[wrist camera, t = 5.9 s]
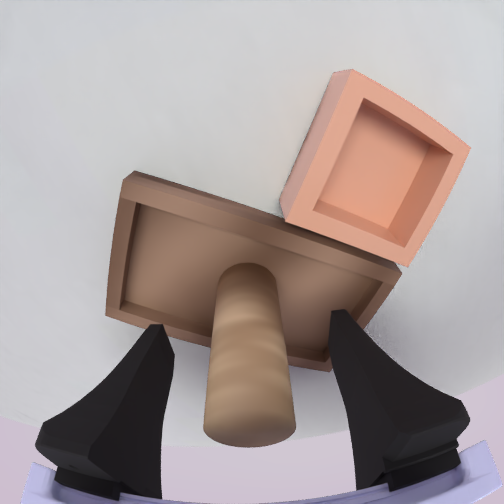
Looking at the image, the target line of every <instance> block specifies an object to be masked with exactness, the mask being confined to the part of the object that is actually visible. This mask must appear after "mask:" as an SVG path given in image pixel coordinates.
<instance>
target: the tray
mask: <svg viewBox="0 0 504 504" xmlns="http://www.w3.org/2000/svg"><path fill="white" fill-rule="evenodd" d="M239 263H256V264H259V265H262V266H264V267H265V268H267V269H268V270H269V271H270V272H271V273H272V274H273V275H274V277H275V279H276V284H277V290H278V297H279V304H280V311H281V318H282V325H283V332H284V339H285V346H286V353H287V361H288V365H291V366H296V367H302V368H308V369H313V370H320V371H326V372H330V371H331V370H332V369H333V367H332V363H331V358H330V353H329V347H328V337H329V327H330V317H331V311H333V310H340V309H346V310H347V311H348V313H349V314H350V315H351V316H352V318H353V319H354V320H355V321H356V322H357V323H358V325H359V326H360V327H361V328H362V329H363V330H364V328H365V327H366V325H367V324H368V323H369V321H370V320H371V319H372V317H373V316H374V315H375V313H376V312H377V310H378V309H379V308H380V306H381V305H382V303H383V302H384V300H385V299H386V298H387V296H388V295H389V293H390V292H391V290H392V289H393V287H394V286H395V284H396V283H397V281H398V280H399V278H400V277H401V275H402V272H401V271H400V269H399V268H398V267H397V265H396V264H395V263H394V262H393V261H391V260H388V259H386V258H383V257H380V256H378V255H375V254H373V253H370V252H367V251H365V250H362V249H359V248H357V247H354V246H352V245H349V244H346V243H343V242H341V241H338V240H335V239H333V238H330V237H327V236H324V235H322V234H319V233H316V232H313V231H311V230H308V229H305V228H302V227H299V226H297V225H294V224H291V223H288V222H285V219H284V218H281V217H278V216H275V215H272V214H269V213H266V212H263V211H261V210H258V209H255V208H252V207H249V206H246V205H243V204H240V203H237V202H234V201H231V200H228V199H225V198H222V197H218V196H215V195H212V194H209V193H206V192H203V191H200V190H197V189H193V188H190V187H187V186H184V185H181V184H177V183H174V182H171V181H168V180H164V179H161V178H158V177H154V176H151V175H148V174H144V173H141V172H137V171H133V172H132V173H131V174H130V175H128V176H127V177H126V178H125V179H123V182H122V187H121V192H120V198H119V203H118V209H117V215H116V221H115V227H114V234H113V241H112V249H111V257H110V265H109V275H108V286H107V298H106V313H105V316H108V317H111V318H114V319H117V320H120V321H123V322H126V323H129V324H132V325H135V326H138V327H141V328H144V329H147V328H148V326H149V325H150V324H163V326H164V328H165V331H166V334H167V336H170V337H173V338H177V339H180V340H184V341H188V342H191V343H195V344H199V345H202V346H206V347H210V348H211V341H212V332H213V323H214V314H215V305H216V297H217V288H218V282H219V279H220V277H221V275H222V274H223V272H224V271H225V270H227V269H228V268H229V267H231V266H233V265H236V264H239Z"/></svg>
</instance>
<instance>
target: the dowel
mask: <svg viewBox="0 0 504 504" xmlns="http://www.w3.org/2000/svg"><path fill="white" fill-rule="evenodd" d="M203 429H204V432H205V433H206V435H207V436H208V437H210V438H211V439H213V440H214V441H217V442H219V443H222V444H225V445H229V446H235V447H262V446H268V445H272V444H276V443H279V442H281V441H283V440H285V439H287V438H289V437H290V436H291V435H292V434H293V433H294V432H295V430H296V422H295V414H294V406H293V398H292V391H291V383H290V376H289V368H288V361H287V353H286V346H285V339H284V332H283V325H282V318H281V311H280V304H279V297H278V290H277V284H276V279H275V277H274V275H273V274H272V273H271V272H270V271H269V270H268V269H267V268H265V267H264V266H262V265H259V264H256V263H239V264H236V265H233V266H231V267H229V268H228V269H227V270H225V271H224V272H223V274H222V275H221V277H220V279H219V282H218V288H217V297H216V305H215V314H214V323H213V332H212V341H211V351H210V361H209V371H208V381H207V391H206V402H205V413H204V425H203Z"/></svg>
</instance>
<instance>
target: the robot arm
mask: <svg viewBox="0 0 504 504" xmlns="http://www.w3.org/2000/svg"><path fill="white" fill-rule="evenodd" d="M328 347H329V353H330V358H331V363H332V367H333V370H334V373H335V376H336V379H337V382H338V386H339V389H340V392H341V395H342V398H343V401H344V405H345V409H346V412H347V418H348V423H349V429H350V435H351V442H352V448H353V456H354V465H355V477H356V491H353V492H348V493H343V494H338V495H332V496H326V497H321V498H314V499H306V500H298V501H289V502H278V503H261V504H473V503H475V502H476V501H478V500H480V499H482V498H484V497H485V496H487V495H489V494H490V493H492V492H493V491H495V490H497V489H498V488H500V487H501V486H502V481H501V478H500V476H499V473H498V470H497V468H496V465H495V462H494V460H493V457H492V454H491V452H490V450H489V447H488V445H487V442H486V441H485V440H483V441H481V442H479V443H477V444H475V445H473V446H471V447H469V448H467V449H465V450H463V451H461V452H460V453H458V452H457V449H456V448H457V447H458V446H459V444H458V442H457V437H458V436H459V435H460V434H461V433H462V432H463V431H464V430H465V429H466V427H467V426H468V425H469V422H470V417H469V415H468V413H467V411H466V409H465V407H464V405H463V403H462V402H461V400H459V399H456V398H454V397H452V396H449V395H447V394H445V393H443V392H440V391H439V390H437V389H435V388H433V387H431V386H429V385H428V384H426V383H424V382H423V381H421V380H420V379H418V378H417V377H415V376H413V375H412V374H410V373H409V372H408V371H406V370H405V369H404V368H402V367H401V366H400V365H399V364H397V363H396V362H395V361H394V360H393V359H392V358H390V357H389V356H388V355H387V354H386V353H385V352H384V351H383V350H382V349H381V348H380V347H379V346H378V345H377V344H376V343H375V342H374V341H373V340H372V339H371V338H370V337H369V336H368V335H367V334H366V333H365V331H364V330H363V329H362V328H361V327H360V326H359V325H358V323H357V322H356V321H355V320H354V319H353V318H352V316H351V315H350V314H349V313H348V311H347V310H346V309H340V310H333V311H331V317H330V327H329V337H328ZM174 358H175V354H174V352H173V349H172V347H171V344H170V342H169V339H168V336H167V334H166V331H165V328H164V326H163V324H150V325H149V326H148V328H147V329H146V330H145V331H144V333H143V334H142V335H141V336H140V338H139V339H138V340H137V342H136V343H135V344H134V345H133V347H132V348H131V349H130V350H129V352H128V353H127V354H126V355H125V357H124V358H123V359H122V360H121V361H120V363H119V364H118V365H117V366H116V367H115V368H114V369H113V371H112V372H111V373H110V374H109V375H108V376H107V377H106V378H105V379H104V380H103V381H102V382H101V383H100V384H99V385H98V386H97V387H95V388H94V389H93V390H92V391H91V392H89V393H88V394H87V395H86V396H85V397H83V398H82V399H81V400H80V401H78V402H77V403H75V404H74V405H73V406H71V407H70V408H68V409H66V410H65V411H63V412H62V413H60V414H58V415H56V416H55V417H53V418H51V419H49V420H47V421H45V422H43V425H42V427H41V430H40V432H39V435H38V438H37V440H36V443H35V447H36V449H37V450H38V451H39V452H40V453H41V454H42V455H43V456H45V457H46V458H47V459H49V460H50V461H51V462H53V463H54V464H55V465H56V466H58V468H57V471H55V470H53V469H50V468H48V467H45V466H42V465H40V464H37V463H35V462H33V463H32V465H31V468H30V471H29V474H28V478H27V481H26V484H25V488H24V492H23V495H22V499H21V503H20V504H207V503H191V502H180V501H171V500H162V490H161V441H162V428H163V420H164V414H165V409H166V405H167V400H168V396H169V391H170V387H171V382H172V377H173V370H174Z"/></svg>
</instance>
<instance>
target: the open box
mask: <svg viewBox="0 0 504 504" xmlns="http://www.w3.org/2000/svg"><path fill="white" fill-rule="evenodd" d="M470 149H471V147H469V146H468V145H467V144H466V143H465V142H463V141H462V140H461V139H460V138H458V137H457V136H456V135H455V134H453V133H452V132H451V131H449V130H448V129H447V128H446V127H444V126H443V125H442V124H440V123H439V122H437V121H436V120H435V119H433V118H432V117H431V116H429V115H428V114H426V113H425V112H423V111H422V110H420V109H419V108H418V107H416V106H415V105H413V104H412V103H410V102H408V101H407V100H405V99H404V98H402V97H401V96H399V95H397V94H396V93H394V92H393V91H391V90H389V89H388V88H386V87H384V86H382V85H381V84H379V83H377V82H376V81H374V80H372V79H370V78H368V77H367V76H365V75H363V74H361V73H359V72H357V71H355V70H353V69H349V70H344V71H339V72H334V73H333V75H332V77H331V79H330V82H329V84H328V86H327V89H326V91H325V93H324V96H323V98H322V100H321V103H320V105H319V107H318V110H317V112H316V115H315V117H314V119H313V122H312V124H311V126H310V129H309V131H308V133H307V136H306V138H305V140H304V143H303V145H302V147H301V150H300V152H299V154H298V157H297V159H296V161H295V164H294V166H293V168H292V170H291V173H290V175H289V177H288V180H287V182H286V184H285V187H284V189H283V191H282V194H281V196H280V198H279V201H280V205H281V208H282V212H283V215H284V218H285V222H288V223H291V224H294V225H297V226H299V227H302V228H305V229H308V230H311V231H313V232H316V233H319V234H322V235H324V236H327V237H330V238H333V239H335V240H338V241H341V242H343V243H346V244H349V245H352V246H354V247H357V248H359V249H362V250H365V251H367V252H370V253H373V254H375V255H378V256H380V257H383V258H386V259H388V260H391V261H393V262H396V263H398V264H401V265H403V266H406V267H408V266H409V265H410V263H411V261H412V260H413V258H414V257H415V255H416V253H417V252H418V250H419V248H420V247H421V245H422V243H423V242H424V240H425V238H426V236H427V235H428V233H429V231H430V229H431V228H432V226H433V224H434V222H435V220H436V219H437V217H438V215H439V213H440V211H441V209H442V207H443V206H444V204H445V202H446V200H447V198H448V196H449V194H450V192H451V190H452V188H453V186H454V184H455V182H456V180H457V178H458V176H459V173H460V171H461V169H462V167H463V165H464V163H465V160H466V158H467V156H468V154H469V151H470Z"/></svg>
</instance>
